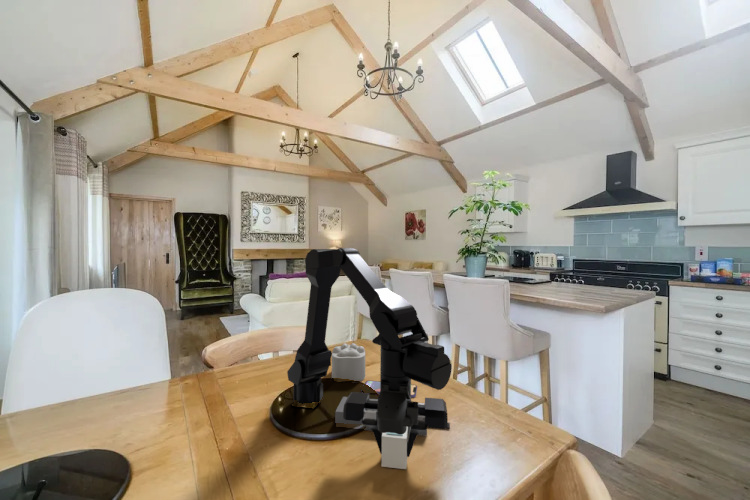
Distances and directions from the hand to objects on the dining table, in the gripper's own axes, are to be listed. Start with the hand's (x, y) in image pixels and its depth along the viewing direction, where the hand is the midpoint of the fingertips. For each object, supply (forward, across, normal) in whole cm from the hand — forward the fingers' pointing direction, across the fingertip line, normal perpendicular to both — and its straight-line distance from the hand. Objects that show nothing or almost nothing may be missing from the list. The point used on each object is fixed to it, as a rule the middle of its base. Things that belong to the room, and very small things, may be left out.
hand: (395, 454), depth 59 cm
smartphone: (+2, -4, +29) cm, 30 cm away
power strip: (+1, -2, +12) cm, 12 cm away
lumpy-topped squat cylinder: (+2, -18, +38) cm, 42 cm away
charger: (+1, 0, +1) cm, 1 cm away
